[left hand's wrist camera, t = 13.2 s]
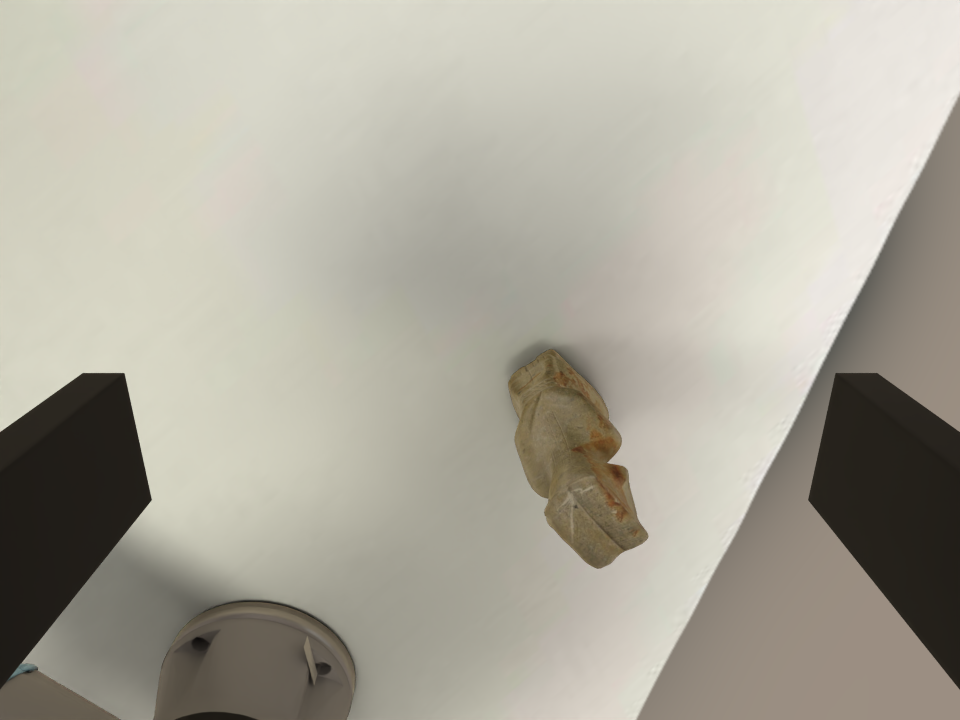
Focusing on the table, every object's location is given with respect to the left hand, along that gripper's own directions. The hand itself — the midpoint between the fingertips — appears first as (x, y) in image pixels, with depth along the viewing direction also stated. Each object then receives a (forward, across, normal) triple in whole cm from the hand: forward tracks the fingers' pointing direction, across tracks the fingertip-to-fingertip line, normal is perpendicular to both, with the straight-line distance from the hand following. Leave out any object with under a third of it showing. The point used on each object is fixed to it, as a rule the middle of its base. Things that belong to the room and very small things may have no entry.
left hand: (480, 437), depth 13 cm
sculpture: (+31, -5, +13) cm, 34 cm away
